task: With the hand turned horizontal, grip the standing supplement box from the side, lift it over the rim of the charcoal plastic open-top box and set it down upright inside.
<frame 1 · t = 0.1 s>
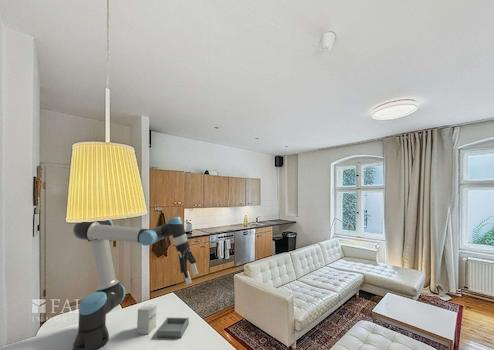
hand: (192, 278, 128), 28 cm above the table, tool tilted 20°, fingers open, 13 cm apart
supplement box: (146, 330, 125), on the table
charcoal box: (173, 330, 125), on the table
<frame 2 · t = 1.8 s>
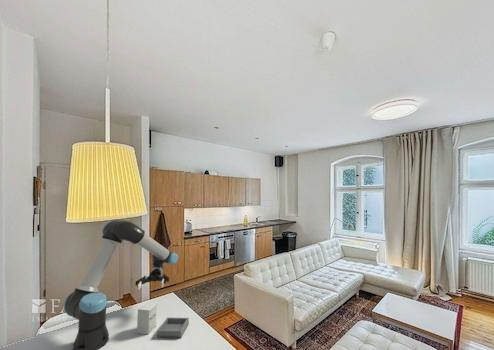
hand: (150, 286, 136), 20 cm above the table, tool horizontal, fingers open, 13 cm apart
nothing on the table moved.
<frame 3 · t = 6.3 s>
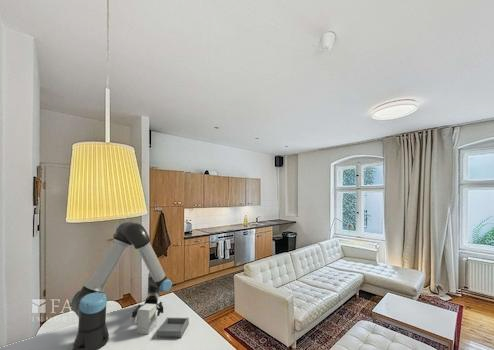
hand: (145, 319, 122), 8 cm above the table, tool horizontal, fingers closed on supplement box, 9 cm apart
supplement box: (146, 330, 125), on the table, touching gripper
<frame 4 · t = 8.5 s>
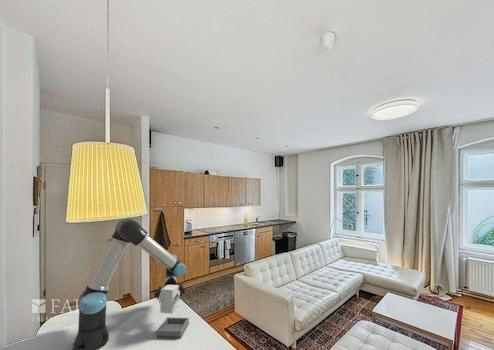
hand: (169, 299, 123), 18 cm above the table, tool horizontal, fingers closed on supplement box, 9 cm apart
supplement box: (169, 310, 127), point 10 cm above the table, touching gripper
when the fingers open (10 cm above the table, at t = 10.7 s): supplement box drops 1 cm, resting on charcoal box.
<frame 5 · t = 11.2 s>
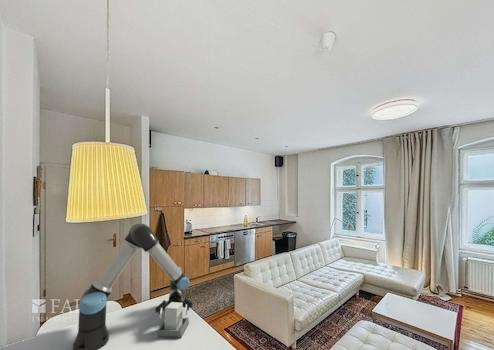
hand: (173, 314, 122), 10 cm above the table, tool horizontal, fingers open, 13 cm apart
supplement box: (173, 329, 125), point 1 cm above the table, touching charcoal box
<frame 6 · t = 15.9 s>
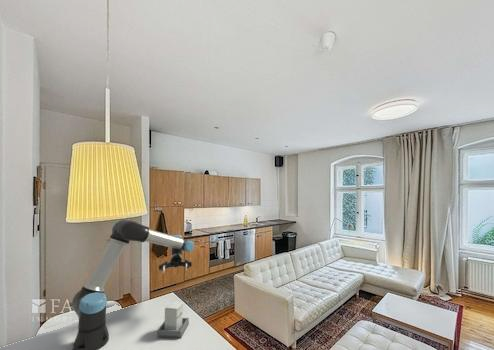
hand: (175, 269, 137), 30 cm above the table, tool horizontal, fingers open, 13 cm apart
nothing on the table moved.
at the end: supplement box inside the target area on the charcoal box (0.1 cm from its centre), point 0.8 cm above the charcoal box's base; supplement box tilted 0°; the gripper is holding nothing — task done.
